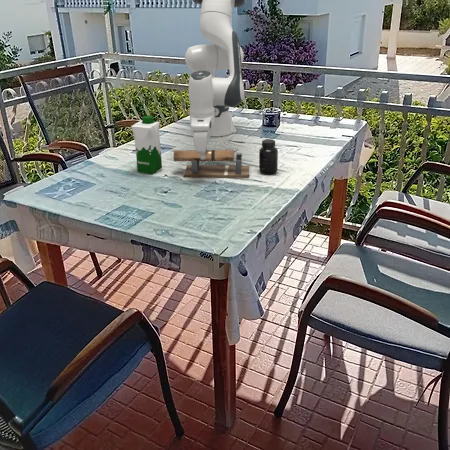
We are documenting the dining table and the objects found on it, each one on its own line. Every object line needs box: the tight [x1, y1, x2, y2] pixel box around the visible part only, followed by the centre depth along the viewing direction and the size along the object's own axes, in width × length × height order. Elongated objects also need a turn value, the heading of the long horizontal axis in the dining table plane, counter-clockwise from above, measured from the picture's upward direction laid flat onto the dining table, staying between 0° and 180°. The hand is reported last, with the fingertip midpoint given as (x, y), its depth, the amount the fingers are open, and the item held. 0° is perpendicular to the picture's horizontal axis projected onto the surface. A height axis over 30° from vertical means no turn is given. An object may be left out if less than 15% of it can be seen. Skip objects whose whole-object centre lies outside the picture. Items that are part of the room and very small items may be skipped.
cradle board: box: [183, 164, 251, 179], centre depth 178 cm, size 10×24×1 cm, turn 87°
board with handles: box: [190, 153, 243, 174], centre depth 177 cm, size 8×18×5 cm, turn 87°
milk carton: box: [130, 115, 163, 175], centre depth 177 cm, size 9×9×20 cm
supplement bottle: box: [258, 138, 279, 176], centre depth 176 cm, size 7×7×12 cm
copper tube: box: [173, 149, 235, 162], centre depth 176 cm, size 22×4×4 cm, turn 87°
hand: (203, 156), depth 176 cm, fingers closed on copper tube, 4 cm apart
